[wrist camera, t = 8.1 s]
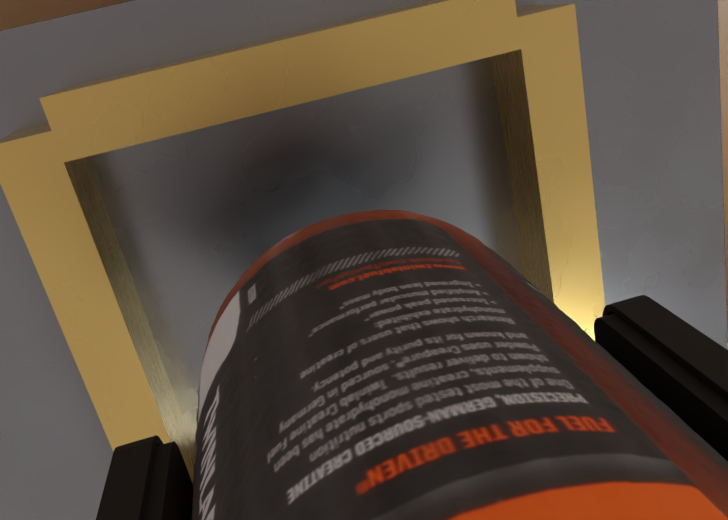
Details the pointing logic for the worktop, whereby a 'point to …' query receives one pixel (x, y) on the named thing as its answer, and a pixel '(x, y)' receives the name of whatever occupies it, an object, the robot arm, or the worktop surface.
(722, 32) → the worktop surface
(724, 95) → the worktop surface
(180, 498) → the robot arm
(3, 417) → the grey boxy piece
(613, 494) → the supplement bottle
